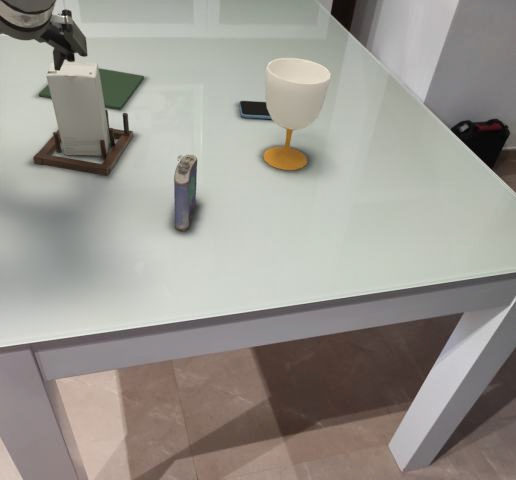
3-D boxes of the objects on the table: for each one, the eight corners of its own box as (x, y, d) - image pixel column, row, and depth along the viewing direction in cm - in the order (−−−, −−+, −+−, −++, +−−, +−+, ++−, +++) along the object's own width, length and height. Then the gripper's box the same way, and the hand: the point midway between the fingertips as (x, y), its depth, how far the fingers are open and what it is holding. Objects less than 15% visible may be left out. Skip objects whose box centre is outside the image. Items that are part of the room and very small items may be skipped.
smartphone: (238, 99, 118) (302, 103, 120) (238, 103, 119) (301, 107, 121) (241, 114, 113) (307, 117, 116) (241, 118, 114) (306, 121, 116)
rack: (107, 175, 93) (104, 150, 89) (34, 163, 93) (27, 137, 90) (133, 135, 104) (131, 111, 100) (67, 124, 104) (63, 99, 100)
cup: (287, 180, 99) (302, 89, 86) (244, 155, 103) (252, 65, 91) (325, 162, 105) (344, 75, 92) (283, 139, 110) (295, 53, 97)
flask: (187, 232, 85) (188, 173, 77) (170, 229, 85) (168, 170, 77) (197, 202, 91) (199, 144, 83) (181, 199, 91) (181, 141, 83)
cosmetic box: (110, 142, 101) (101, 62, 90) (107, 158, 97) (97, 76, 86) (66, 140, 100) (51, 58, 89) (61, 156, 96) (45, 72, 85)
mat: (39, 96, 111) (38, 93, 110) (70, 66, 123) (70, 63, 122) (120, 110, 111) (120, 107, 110) (144, 78, 123) (143, 75, 122)
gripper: (-102, 11, 55) (-83, 72, 74) (127, 44, 67) (94, 90, 85) (-114, -67, 54) (-92, 15, 72) (122, -20, 66) (90, 40, 84)
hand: (9, 55), depth 79 cm, fingers open, 13 cm apart
